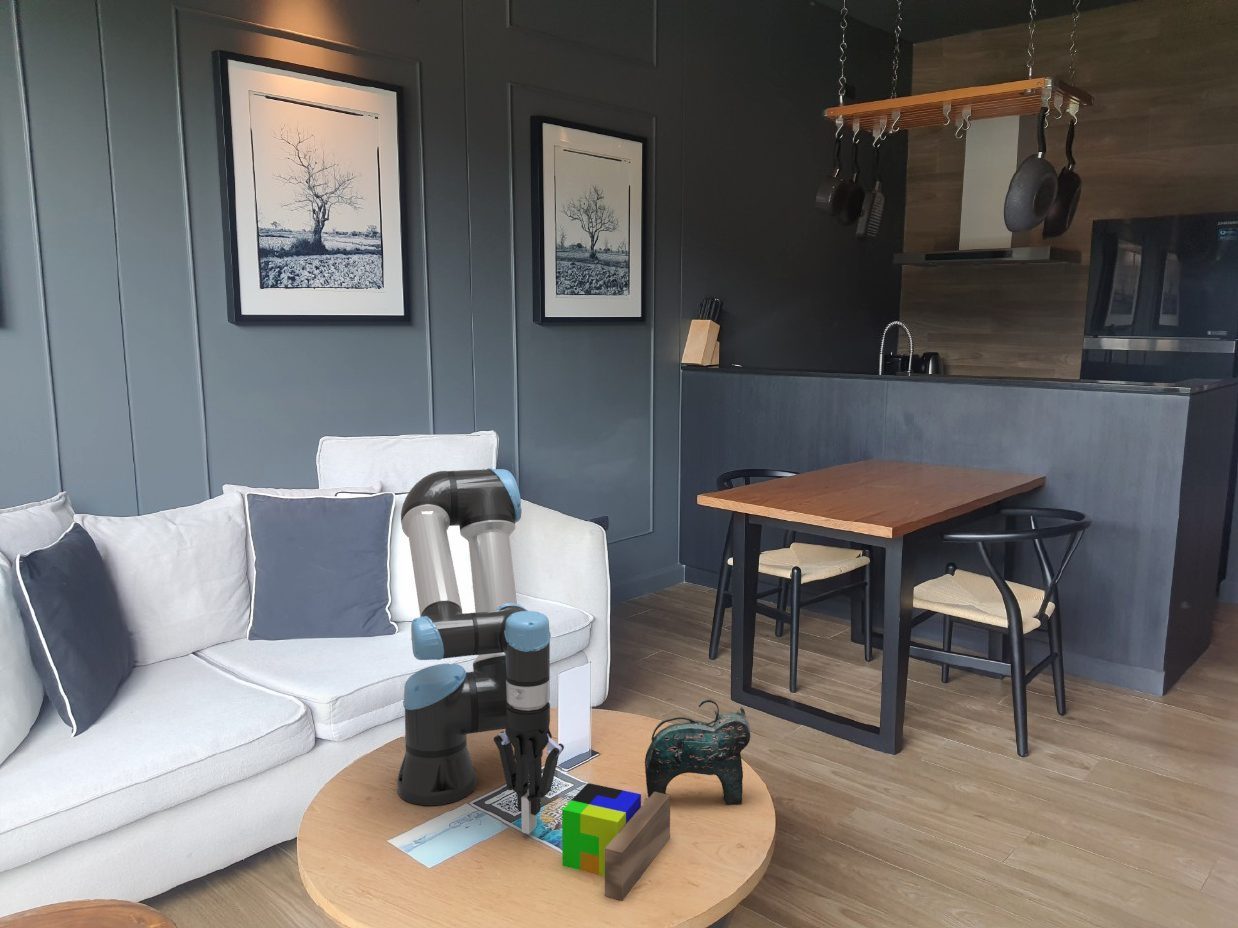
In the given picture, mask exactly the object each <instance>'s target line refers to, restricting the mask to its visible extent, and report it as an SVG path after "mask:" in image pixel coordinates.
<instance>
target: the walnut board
mask: <svg viewBox="0 0 1238 928" xmlns="http://www.w3.org/2000/svg"><path fill="white" fill-rule="evenodd" d="M670 839H671V795H670V794H668V793H666V794H663V793H659V792H654V793H653V794H652V795H651V796H650V797H649V798H648V797H647V799H646V800H645V802H644V803H643V804H641V807H640V809H639V810H638V811H637V812H636V813H635V814H634V815H633V817H632V818H631V819H630V820H629V821H628V822H627V823H626V825H625V826H624V827H623V828H622V829H621V830H620V831H619V833H618V834H617V835H616V836H615V837H614V838H613V839H612V841H611V842H610V843H609V844H608V845H607V846H606V847H605V876H604V897H607V898H611V899H615V900H619V901H624V899H625V898H626V896H627V895H629V893H630V892H631V890H632V888H633V887H634V886H635V885H636V883H637V882H638V881H639V880H640V878H641V877H642V876H643V874H644V873H645V871H646V870H647V869H648V867H649V866H650V865H651V864H652V862H653V861H654V860H655V858H656V857H657V856H658V854H659V853H660V852H661V850H662V849H663V848H664V846H666V844H667V843H668V842H669V840H670Z"/></svg>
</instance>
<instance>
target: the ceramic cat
mask: <svg viewBox="0 0 1238 928" xmlns="http://www.w3.org/2000/svg"><path fill="white" fill-rule="evenodd" d="M706 703H712V704H714V705H715V706H716V708H717V709H715V710H714V715H715V718H714V720H712V721H709V722H706V721H702V720H695V719H692V718H689V717H683V716H678V717H671V718H668V719H664V720H662V721H660V722H659V723H658V724H657V725H656V727H655V729H654V730H653V733H652V736H651V738H650V739H651V742H650V745H649V746H648V748H647V751H646V754H645V758H644V771H645V772H644V773H645V784H646V791H647V796H648V797H647V799H648V798H649V797H650V796H651V795H652V794H653V793H654V792H659V793H663V794H667V787H668V785H669V784H670V782H671V781H672V780H673V779H674V778H676V777H678V776H679V775H684V774H697V775H705V776H706V775H707V776H716V778H718V779H719V781H720V784H721V787H722V796H723V802H724V803H725V806H726V805H727V806H730V805H742V804H743V792H744V790H743V786H744V784H743V781H744V780H743V778H744V770H743V769H744V768H743V762H742V755H741V753H742V751H743V750H744V749H745V748H746V747H747V746H748V745H749V743H750V739H751V730H750V729H751V727H750V721H749V720H748V718H747V716H746V715H747V714H746V712H745V709H744V708H743V707H742V706H741V707H740V708H739V709H738V710H737V712H726V713H722V712H720V710H719V705H718V703H717V702H715V701H714V700H712V699H709V698H708V699H705V700H702V701H701V702H700V703H699V705H698V707H699V708H701V707H702V705H704V704H706ZM677 720H685V721H683V722H679V723H678V722H677V723H672V724H669V725H667V726H665V727H664V728H662V729H660V730H659V728H660V727H661V726H662V725H664V724H666V723H669V722H674V721H677ZM658 730H659V731H658ZM657 731H658V732H657ZM656 732H657V733H656Z"/></svg>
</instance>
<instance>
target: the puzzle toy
mask: <svg viewBox="0 0 1238 928" xmlns="http://www.w3.org/2000/svg"><path fill="white" fill-rule="evenodd" d="M641 806H642V794H641V793H637V792H633V791H628V790H625V789H624V790H623V789H618V788H615V787H608V786H604V785H600V784H596V783H595V784H594V783H590V782H587V784H585V786H583V787H582V789H581V790H580V791H578V793H577V794H576V795H575V796H574V797H573V798H572V799H571V800H570V801H569V802H568V803H567V804H566V805H565V806H563V808H562V809H561V821H562V822H561V826H562V828H561V829H562V830H561V832H562V833H561V834H562V835H561V836H562V839H561V845H562V848H561V849H562V850H561V851H562V858H561V859H562V867H565V868H571V869H574V870H578V871H582V872H586V873H589V874H594V875H596V876H597V875H598V876H600V877H601V876H602V877H605V847H606V846H607V845H608V844H609V843H610V842H611V841H612V839H613V838H614V837H615V836H616V835H617V834H618V833H619V831H620V830H621V829H622V828H623V827H624V826H625V825H626V823H627V822H628V821H629V820H630V819H631V818H632V817H633V815H634V814H635V813H636V812H637V811H638V810H639V809H640V807H641Z"/></svg>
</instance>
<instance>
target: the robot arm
mask: <svg viewBox="0 0 1238 928" xmlns="http://www.w3.org/2000/svg"><path fill="white" fill-rule="evenodd" d="M521 503H522V499H521V494H520V490H519V487H518V483H517V480H516V479H515V476H514V475H513V474H512V473H511V471H509V470H507V469H500V468H499V469H498V468H490V467H489V468H485V469H484V468H482V469H465V470H439V471H434V472H432V473H429V474H427V475H426V476H424V477H423V478H421V479H420V480H419V481H417V482H416V483H415V484H414V485H413V487H412V488H411V489H410V490H409V491H408V493H407V495H406V497H405V498H404V501H403V503H402V507H401V511H400V523H401V528H402V531H403V534H404V535H405V536H406V537H407V538H408V542H409V547H410V555H411V562H412V568H413V570H412V571H413V577H414V583H415V590H416V595H417V603H418V611H419V616H420V617H415V618H414V619H413V620H412V621H411V630H410V631H411V634H410V636H411V645H412V646H411V647H412V653H413V654H412V655H413V656H414V658H415V659H416V660H418V661H434V660H435V661H436V660H437V661H439V660H442V659H443V660H444V659H452V658H453V659H454V658H460V657H469V656H477V657H475V660H474V661H473V662H472V669H473V670H472V671H469V672H468V671H466V670H465V668H464V667H463V666H462V665H460V664H458V663H440V664H435V665H430V666H427V667H424V668H422V669H419V670H417V671H416V672H415V673H413V674H412V675H410V676H409V677H408V679H407V680H406V681H405V683H404V690H403V691H404V693H403V701H402V705H403V708H404V732H405V733H404V735H405V736H404V739H405V752H404V756H403V759H402V763H401V765H400V766H401V767H400V769H399V773H398V776H397V780H396V781H397V783H396V785H397V793H398V796H399V798H401V799H403V800H404V801H406V802H408V803H411V804H414V805H419V806H441V805H446V804H451V803H454V802H457V801H460V800H462V799H464V798H467V796H469V795H470V794H472V792H474V791H475V789H476V787H477V770H476V768H475V766H474V764H473V761H472V758H471V754H470V752H469V749H468V746H467V735H469V734H476V733H484V732H490V731H491V732H492V731H499V730H502V731H501V732H500V733H498V734H497V735H496V736H494V737H493V742H494V744H495V746H496V747H497V749H498V752H499V757H500V762H501V766H502V770H503V775H504V779H505V784H506V788H507V790H508V791H512V792H513V791H514V792H515V794H516V795H517V800H516V801H517V810H518V812H521V832H522V833H524V834H527V835H530V834H531V833H532V832H533V831H534V830H535V829H536V828H537V825H538V824H537V823H538V822H537V815H538V814H539V813H540V812H541V805H542V804H541V799H543V798H545V796H547V794H549V792H551V790H552V786H553V781H554V777H555V773H556V769H557V765H558V761H559V756H560V755H561V753H562V752H563V751H564V749H565V745H564V744H562V743H557V742H555V740H553V738H552V737H553V736H552V735H553V734H552V733H551V730H550V723H551V703H550V702H549V701H550V700H551V684H550V683H551V679H550V678H551V677H550V676H551V674H550V673H551V671H550V667H551V665H550V662H551V661H550V659H551V657H550V656H551V654H550V653H551V651H550V650H551V649H550V648H551V646H550V645H551V644H550V643H551V639H552V638H551V636H552V635H551V631H550V620H549V618H548V616H547V615H546V614H545V613H540V612H539V611H534V610H528V609H526V608H525V607H524V606H522V605H521V604H518V600H517V592H516V591H517V590H516V583H515V575H514V574H515V573H514V567H513V559H512V549H511V541H510V536H511V534H512V533H513V532H514V531H515V529H516V523H517V522H519V521H520V520H521V518H522V509H523V508H522V505H521ZM454 526H455V527H456V526H458V527H459V533H460V534H459V535H460V536H461V537H463V538H464V539H465V540H466V541H467V543H468V548H469V549H468V551H469V560H470V569H471V570H470V571H471V581H472V591H473V602H474V611H475V612H468V613H463V609H462V602H461V597H460V592H459V587H458V582H457V577H456V572H455V567H454V562H453V557H452V552H451V547H450V541H449V536H448V535H449V534H448V532H447V531H448V529H449V527H454ZM504 730H505V731H504ZM546 747H547V750H546V755H547V757H546V759H545V762H544V767H543V771H542V766H543V765H542V758H543V754H544V749H545V748H546Z"/></svg>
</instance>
